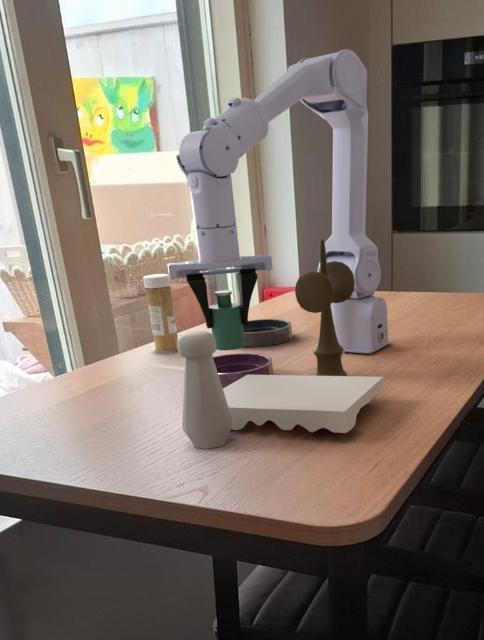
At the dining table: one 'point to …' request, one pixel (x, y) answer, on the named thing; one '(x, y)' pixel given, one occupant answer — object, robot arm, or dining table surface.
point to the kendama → (326, 308)
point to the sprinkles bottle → (161, 312)
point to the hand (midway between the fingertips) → (227, 325)
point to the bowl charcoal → (267, 332)
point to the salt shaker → (203, 392)
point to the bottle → (227, 322)
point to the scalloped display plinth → (300, 400)
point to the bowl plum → (241, 366)
